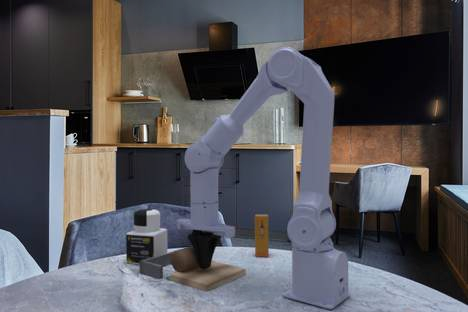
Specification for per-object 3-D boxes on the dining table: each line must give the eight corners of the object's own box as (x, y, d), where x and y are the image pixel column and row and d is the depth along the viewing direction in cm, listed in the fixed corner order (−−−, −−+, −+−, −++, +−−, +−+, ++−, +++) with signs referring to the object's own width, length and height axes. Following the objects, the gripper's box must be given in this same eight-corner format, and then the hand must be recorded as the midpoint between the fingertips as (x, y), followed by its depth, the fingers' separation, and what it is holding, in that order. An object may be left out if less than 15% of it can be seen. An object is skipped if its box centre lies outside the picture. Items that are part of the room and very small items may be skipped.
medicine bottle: (125, 263, 91) (125, 211, 91) (141, 255, 98) (141, 207, 98) (153, 266, 89) (153, 213, 89) (168, 257, 96) (167, 208, 96)
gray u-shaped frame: (205, 263, 91) (205, 252, 91) (160, 278, 81) (159, 266, 80) (185, 258, 95) (185, 247, 95) (139, 272, 85) (139, 260, 85)
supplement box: (268, 253, 99) (268, 213, 99) (268, 257, 95) (268, 216, 95) (255, 253, 99) (255, 213, 99) (254, 257, 96) (254, 216, 96)
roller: (214, 251, 85) (202, 238, 88) (188, 260, 79) (175, 246, 82) (207, 267, 87) (194, 253, 89) (180, 276, 81) (168, 262, 83)
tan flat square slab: (245, 274, 83) (245, 268, 83) (207, 291, 74) (206, 284, 74) (205, 264, 90) (205, 259, 90) (165, 278, 81) (165, 272, 81)
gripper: (244, 202, 80) (244, 269, 81) (192, 197, 89) (193, 256, 90) (221, 207, 75) (222, 278, 75) (169, 200, 84) (170, 264, 84)
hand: (204, 267), depth 82 cm, fingers closed
